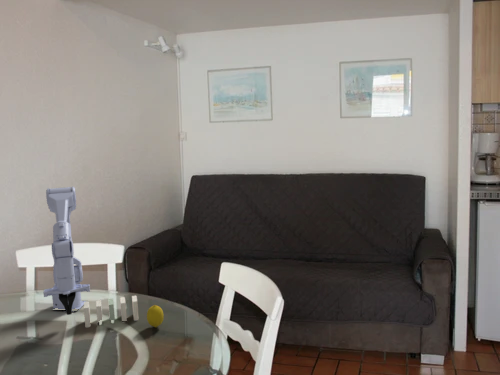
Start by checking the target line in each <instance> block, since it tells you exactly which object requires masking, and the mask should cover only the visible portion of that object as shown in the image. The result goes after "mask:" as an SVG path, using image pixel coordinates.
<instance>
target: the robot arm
mask: <svg viewBox="0 0 500 375" xmlns="http://www.w3.org/2000/svg"><path fill="white" fill-rule="evenodd" d="M76 194H77V193H76V187H74V186H67V187H54V188H53V187H52V188H49V187H47V188H46V191H45V197H46V204H47V206H48V209H49V212H51V213H53V214H55V221H56V222H55V223H54V224H53V225H52V238H53V239H52V240H53V241H52V242H53V243H51V254H52V258H53V266H52V268H53V269H52V270H53V271H52V275H53V282H54V285H53V287H51V288H50V287H49V288H45V289H43V298H47V297H50V296H51V299H52V305H53V308H58V309H65V310H66V311H65V312H66V315H67V316H69V315H72V312H73V311H72V309H75V308H76V309H79V310H80V309H82V307H84V302H87V301H86V300H82V292H91V286H90V285H91V284H89V283H87V284H85V283H84V284H81V283H82V282H83V280H84V274H83V265H82V261H81V260H80V259H79V258H77V257H75V256H74V255H75V254H74V253H75V250H74V242H73V238H72V225H71V214H72V212H73V211H75V210H76V209H77V196H76ZM53 308H52V309H53Z"/></svg>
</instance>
